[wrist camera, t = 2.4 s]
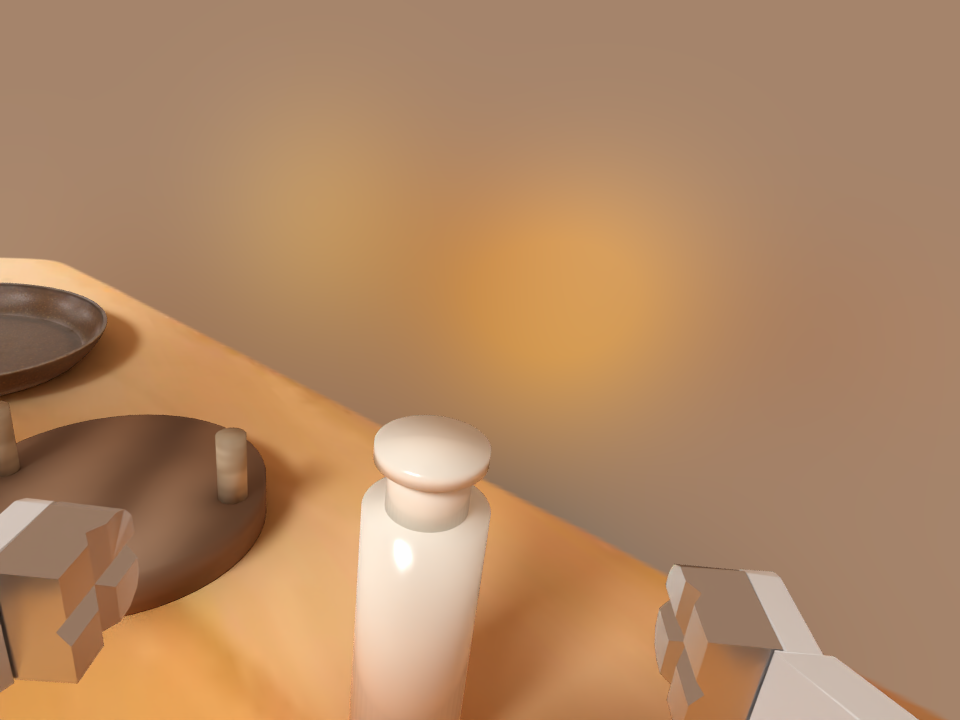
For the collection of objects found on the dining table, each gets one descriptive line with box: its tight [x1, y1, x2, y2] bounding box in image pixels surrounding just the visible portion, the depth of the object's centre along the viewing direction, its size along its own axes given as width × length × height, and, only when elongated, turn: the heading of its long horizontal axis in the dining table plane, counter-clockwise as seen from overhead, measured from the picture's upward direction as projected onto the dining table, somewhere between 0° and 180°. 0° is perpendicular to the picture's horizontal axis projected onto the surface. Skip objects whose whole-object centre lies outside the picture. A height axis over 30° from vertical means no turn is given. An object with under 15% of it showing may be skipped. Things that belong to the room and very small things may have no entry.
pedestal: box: [0, 401, 266, 616], centre depth 39 cm, size 16×16×6 cm
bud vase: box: [349, 415, 491, 720], centre depth 26 cm, size 5×5×15 cm
